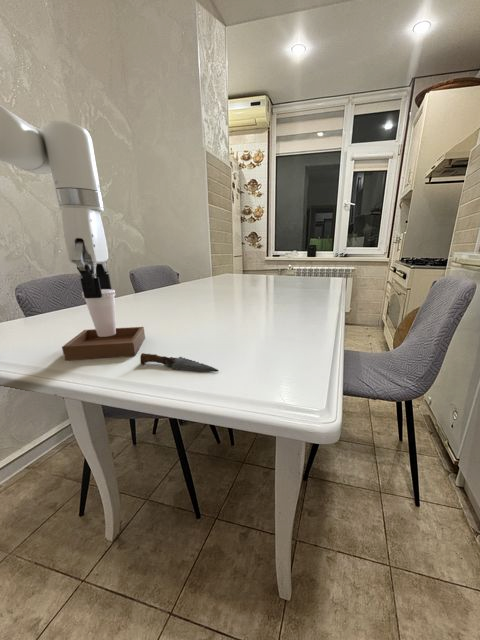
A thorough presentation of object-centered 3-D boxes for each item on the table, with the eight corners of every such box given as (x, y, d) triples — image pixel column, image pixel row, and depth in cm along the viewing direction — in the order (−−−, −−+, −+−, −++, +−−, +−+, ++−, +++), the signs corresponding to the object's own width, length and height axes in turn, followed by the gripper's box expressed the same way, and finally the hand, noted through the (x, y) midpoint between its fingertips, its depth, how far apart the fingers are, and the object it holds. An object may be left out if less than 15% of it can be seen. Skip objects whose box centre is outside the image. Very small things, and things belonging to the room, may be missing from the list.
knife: (134, 356, 57) (152, 342, 60) (137, 364, 58) (155, 350, 62) (203, 381, 50) (219, 363, 54) (205, 390, 52) (220, 372, 55)
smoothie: (92, 332, 67) (79, 269, 62) (122, 329, 69) (112, 268, 65) (89, 340, 62) (74, 272, 57) (122, 336, 64) (110, 271, 59)
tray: (65, 360, 60) (61, 346, 59) (86, 341, 71) (84, 329, 70) (135, 355, 62) (133, 342, 61) (145, 338, 74) (143, 326, 73)
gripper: (77, 206, 63) (93, 289, 70) (36, 194, 48) (62, 303, 54) (113, 207, 65) (126, 288, 71) (86, 196, 49) (106, 301, 55)
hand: (99, 294), depth 62 cm, fingers closed on smoothie, 6 cm apart
